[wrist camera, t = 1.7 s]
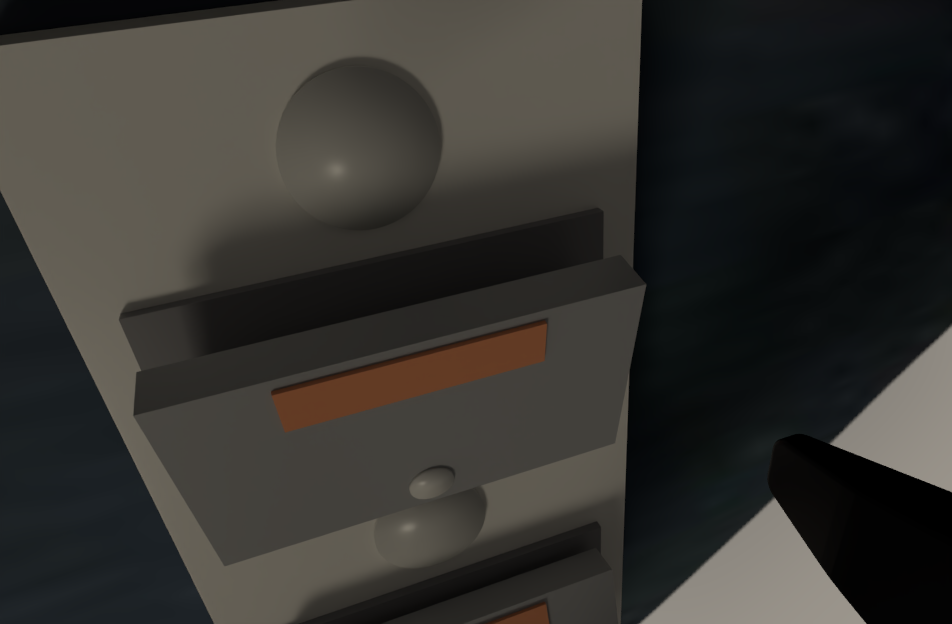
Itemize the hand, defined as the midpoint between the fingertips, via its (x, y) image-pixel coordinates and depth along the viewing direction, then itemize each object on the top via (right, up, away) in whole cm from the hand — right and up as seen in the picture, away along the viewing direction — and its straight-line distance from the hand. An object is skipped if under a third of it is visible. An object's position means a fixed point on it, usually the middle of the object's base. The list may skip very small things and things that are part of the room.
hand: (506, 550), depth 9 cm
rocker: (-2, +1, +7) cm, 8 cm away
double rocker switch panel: (-3, -2, +14) cm, 14 cm away
